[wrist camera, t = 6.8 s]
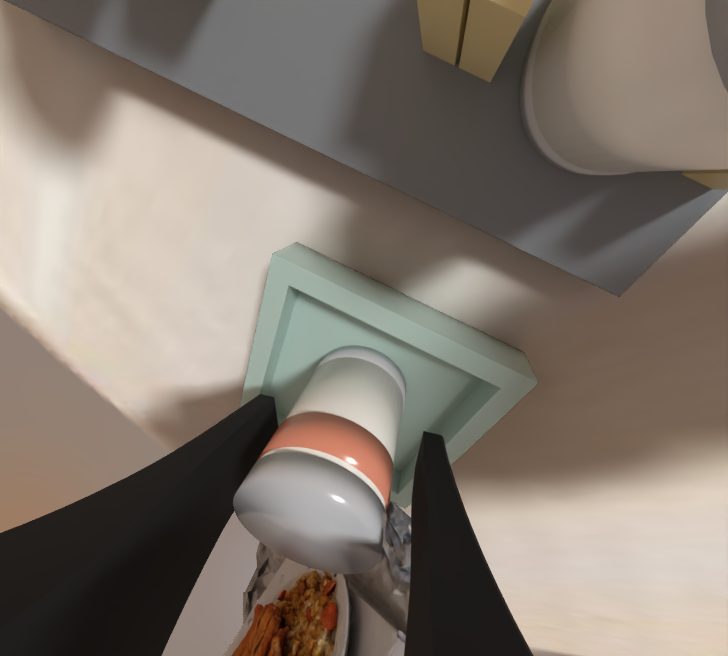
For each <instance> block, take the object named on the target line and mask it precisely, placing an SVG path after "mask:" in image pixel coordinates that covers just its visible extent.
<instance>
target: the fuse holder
mask: <svg viewBox="0 0 728 656" xmlns="http://www.w3.org/2000/svg"><path fill="white" fill-rule="evenodd" d="M5 1H7V2H9V3H11V4H13V5H15V6H17V7H19V8H21V9H23V10H26V11H28V12H30V13H32V14H34V15H36V16H38V17H40V18H42V19H44V20H46V21H48V22H50V23H52V24H55V25H57V26H59V27H61V28H63V29H65V30H67V31H69V32H71V33H73V34H75V35H77V36H79V37H81V38H84V39H86V40H88V41H90V42H92V43H94V44H96V45H98V46H100V47H102V48H104V49H106V50H108V51H110V52H113V53H115V54H117V55H119V56H121V57H123V58H125V59H127V60H129V61H131V62H133V63H135V64H137V65H139V66H142V67H144V68H146V69H148V70H150V71H152V72H154V73H156V74H158V75H160V76H162V77H164V78H166V79H168V80H171V81H173V82H175V83H177V84H179V85H181V86H183V87H185V88H187V89H189V90H191V91H193V92H195V93H197V94H200V95H202V96H204V97H206V98H208V99H210V100H212V101H214V102H216V103H218V104H220V105H222V106H224V107H226V108H229V109H231V110H233V111H235V112H237V113H239V114H241V115H243V116H245V117H247V118H249V119H251V120H253V121H255V122H258V123H260V124H262V125H264V126H266V127H268V128H270V129H272V130H274V131H276V132H278V133H280V134H282V135H284V136H287V137H289V138H291V139H293V140H295V141H297V142H299V143H301V144H303V145H305V146H307V147H309V148H311V149H313V150H316V151H318V152H320V153H322V154H324V155H326V156H328V157H330V158H332V159H334V160H336V161H338V162H340V163H342V164H345V165H347V166H349V167H351V168H353V169H355V170H357V171H359V172H361V173H363V174H365V175H367V176H369V177H371V178H374V179H376V180H378V181H380V182H382V183H384V184H386V185H388V186H390V187H392V188H394V189H396V190H398V191H400V192H403V193H405V194H407V195H409V196H411V197H413V198H415V199H417V200H419V201H421V202H423V203H425V204H427V205H429V206H432V207H434V208H436V209H438V210H440V211H442V212H444V213H446V214H448V215H450V216H452V217H454V218H456V219H458V220H461V221H463V222H465V223H467V224H469V225H471V226H473V227H475V228H477V229H479V230H481V231H483V232H485V233H487V234H490V235H492V236H494V237H496V238H498V239H500V240H502V241H504V242H506V243H508V244H510V245H512V246H514V247H516V248H519V249H521V250H523V251H525V252H527V253H529V254H531V255H533V256H535V257H537V258H539V259H541V260H543V261H545V262H548V263H550V264H552V265H554V266H556V267H558V268H560V269H562V270H564V271H566V272H568V273H570V274H572V275H574V276H577V277H579V278H581V279H583V280H585V281H587V282H589V283H591V284H593V285H595V286H597V287H599V288H601V289H603V290H605V291H608V292H610V293H612V294H614V295H616V296H618V297H619V296H620V295H621V294H622V293H623V292H624V291H625V290H627V289H628V288H629V287H630V286H631V285H632V284H633V283H634V282H635V281H636V280H637V279H638V278H639V277H640V276H641V275H642V274H643V273H644V272H645V271H646V270H647V269H648V268H649V267H650V266H651V265H652V264H653V263H654V262H656V261H657V260H658V259H659V258H660V257H661V256H662V255H663V254H664V253H665V252H666V251H667V250H668V249H669V248H670V247H671V246H672V245H673V244H674V243H675V242H676V241H677V240H678V239H679V238H680V237H681V236H682V235H684V234H685V233H686V232H687V231H688V230H689V229H690V228H691V227H692V226H693V225H694V224H695V223H696V222H697V221H698V220H699V219H700V218H701V217H702V216H703V215H704V214H705V213H706V212H707V211H708V210H709V209H710V208H712V207H713V206H714V205H715V204H716V203H717V202H718V201H719V200H720V199H721V198H722V197H723V196H724V195H725V194H726V193H727V192H728V169H722V170H685V171H649V172H633V173H628V174H620V175H579V174H574V173H569V172H566V171H563V170H561V169H558V168H556V167H555V166H553V165H551V164H550V163H548V162H547V161H546V160H544V159H543V158H542V157H541V156H540V155H539V154H538V153H537V151H536V150H535V149H534V148H533V146H532V145H531V143H530V141H529V139H528V138H527V135H526V132H525V130H524V127H523V123H522V119H521V114H520V102H519V96H520V82H521V75H522V69H523V65H524V61H525V57H526V54H527V51H528V48H529V45H530V42H531V40H532V37H533V34H534V32H535V30H536V28H537V26H538V24H539V22H540V19H541V17H542V16H543V14H544V12H545V10H546V9H547V7H548V5H549V3H550V2H551V0H5Z"/></svg>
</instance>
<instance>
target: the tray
mask: <svg viewBox="0 0 728 656" xmlns="http://www.w3.org/2000/svg"><path fill="white" fill-rule="evenodd" d="M349 345H359V346H365V347H369V348H372V349H375V350H377V351H379V352H381V353H383V354H384V355H386V356H387V357H389V358H390V359H391V360H392V361H393V362H394V363H395V364H396V365H397V366H398V367H399V369H400V370H401V372H402V373H403V375H404V378H405V381H406V387H407V391H406V399H405V405H404V410H403V413H402V416H401V422H400V428H399V435H398V441H397V447H396V453H395V460H394V476H393V482H392V489H391V495H390V501H391V502H393V503H395V504H397V505H399V506H401V507H403V508H406V507H407V506H408V505H410V504H411V503H412V490H413V481H414V472H415V465H416V461H417V457H418V452H419V448H420V444H421V440H422V436H423V431H426V432H430V433H435V434H439V435H442V436H443V438H444V442H445V447H446V451H447V455H448V459H449V462H450V466H451V465H452V464H453V463H454V462H455V461H456V460H457V459H458V458H460V457H461V456H462V455H463V454H464V453H465V452H466V451H467V450H468V449H469V448H470V447H471V446H472V445H473V444H474V443H475V442H477V441H478V440H479V439H480V438H481V437H482V436H483V435H484V434H485V433H486V432H487V431H488V430H489V429H490V428H491V427H492V426H494V425H495V424H496V423H497V422H498V421H499V420H500V419H501V418H502V417H503V416H504V415H505V414H506V413H507V412H508V411H509V410H511V409H512V408H513V407H514V406H515V405H516V404H517V403H518V402H519V401H520V400H521V399H522V398H523V397H524V396H525V395H526V394H528V393H529V392H530V391H531V390H532V389H533V388H534V387H535V386H536V385H537V384H538V380H537V378H536V376H535V374H534V372H533V370H532V368H531V366H530V364H529V362H528V360H527V358H526V356H525V354H524V352H522V351H520V350H518V349H516V348H513V347H511V346H509V345H507V344H505V343H503V342H501V341H499V340H497V339H495V338H493V337H491V336H489V335H487V334H485V333H483V332H480V331H478V330H476V329H474V328H472V327H470V326H468V325H466V324H464V323H462V322H460V321H458V320H456V319H454V318H452V317H450V316H448V315H445V314H443V313H441V312H439V311H437V310H435V309H433V308H431V307H429V306H427V305H425V304H423V303H421V302H419V301H417V300H415V299H412V298H410V297H408V296H406V295H404V294H402V293H400V292H398V291H396V290H394V289H392V288H390V287H388V286H386V285H384V284H382V283H379V282H377V281H375V280H373V279H371V278H369V277H367V276H365V275H363V274H361V273H359V272H357V271H355V270H353V269H351V268H349V267H347V266H344V265H342V264H340V263H338V262H336V261H334V260H332V259H330V258H328V257H326V256H324V255H322V254H320V253H318V252H316V251H314V250H311V249H309V248H307V247H305V246H303V245H301V244H299V243H297V242H296V243H294V244H292V245H290V246H288V247H285V248H283V249H281V250H279V251H277V252H274V253H272V257H271V262H270V266H269V271H268V276H267V280H266V285H265V290H264V294H263V299H262V304H261V308H260V313H259V318H258V322H257V327H256V332H255V336H254V341H253V346H252V351H251V355H250V360H249V365H248V369H247V374H246V379H245V383H244V388H243V393H242V397H241V402H240V407H242V406H243V405H245V404H246V403H248V402H249V401H251V400H252V399H254V398H255V397H256V396H258V395H259V394H263V395H267V396H272V397H274V398H275V405H276V412H277V419H278V427H279V425H280V424H281V423H282V422H283V421H284V420H285V419H286V417H287V416H288V414H289V413H290V411H291V409H292V408H293V406H294V405H295V403H296V402H297V400H298V398H299V397H300V395H301V394H302V392H303V391H304V389H305V388H306V386H307V384H308V383H309V381H310V380H311V378H312V375H313V373H314V371H315V370H316V368H317V367H318V365H319V363H320V362H321V360H322V359H323V358H324V356H325V355H326V354H328V353H329V352H330V351H332V350H334V349H336V348H339V347H342V346H349ZM240 407H239V408H240Z"/></svg>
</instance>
